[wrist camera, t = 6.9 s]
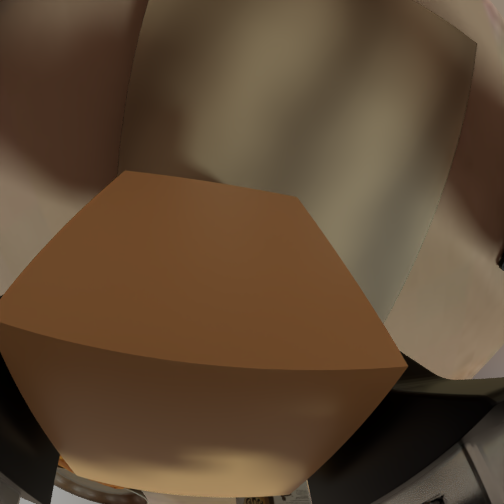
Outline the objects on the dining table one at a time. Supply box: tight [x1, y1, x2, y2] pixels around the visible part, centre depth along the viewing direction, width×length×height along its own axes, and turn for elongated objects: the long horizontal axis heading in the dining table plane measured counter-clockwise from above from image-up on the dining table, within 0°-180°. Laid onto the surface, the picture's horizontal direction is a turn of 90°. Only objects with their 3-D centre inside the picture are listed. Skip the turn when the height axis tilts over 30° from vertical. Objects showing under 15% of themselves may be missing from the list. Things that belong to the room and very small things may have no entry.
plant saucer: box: [54, 465, 148, 504], centre depth 31 cm, size 18×18×3 cm
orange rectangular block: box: [0, 171, 408, 497], centre depth 7 cm, size 5×5×7 cm
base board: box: [117, 0, 477, 324], centre depth 13 cm, size 16×20×1 cm
